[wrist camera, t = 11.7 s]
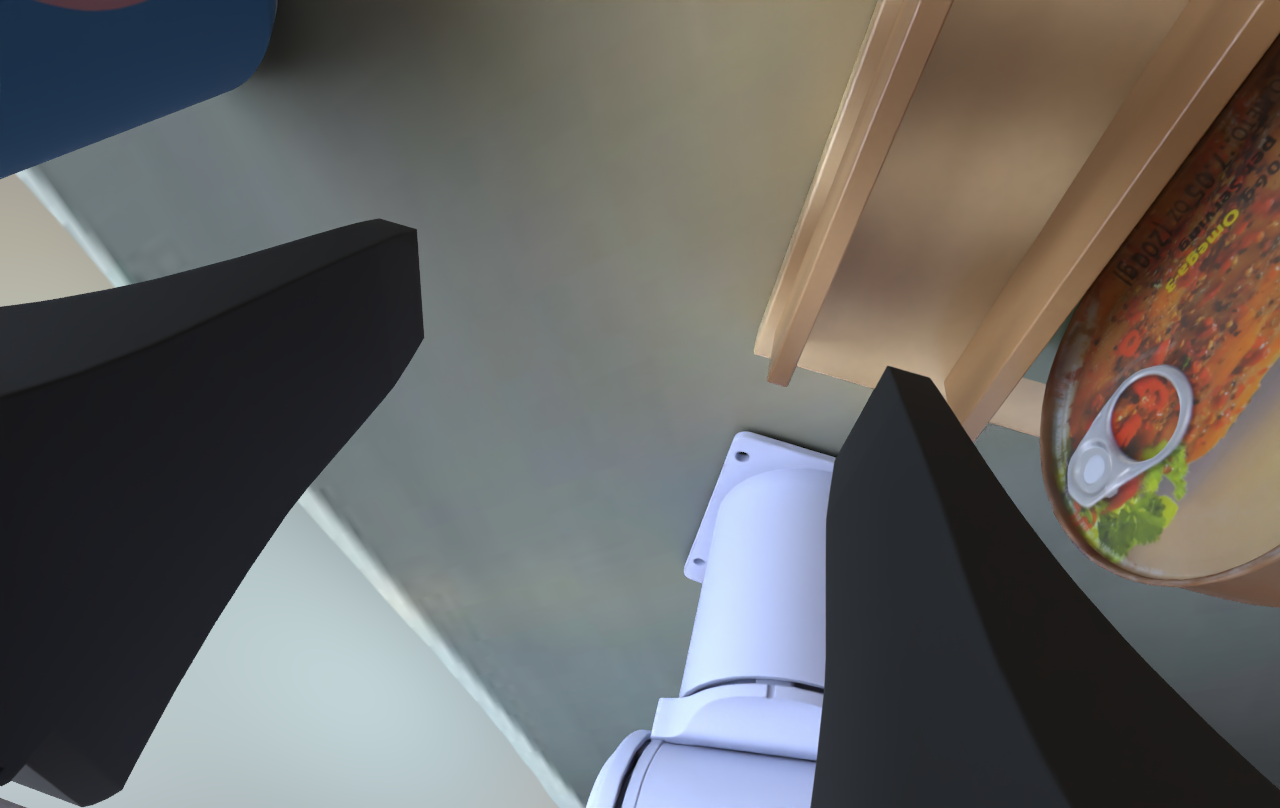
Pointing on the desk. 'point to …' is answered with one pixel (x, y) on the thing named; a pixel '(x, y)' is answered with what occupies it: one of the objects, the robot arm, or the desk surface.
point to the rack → (994, 184)
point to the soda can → (115, 66)
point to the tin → (1182, 375)
